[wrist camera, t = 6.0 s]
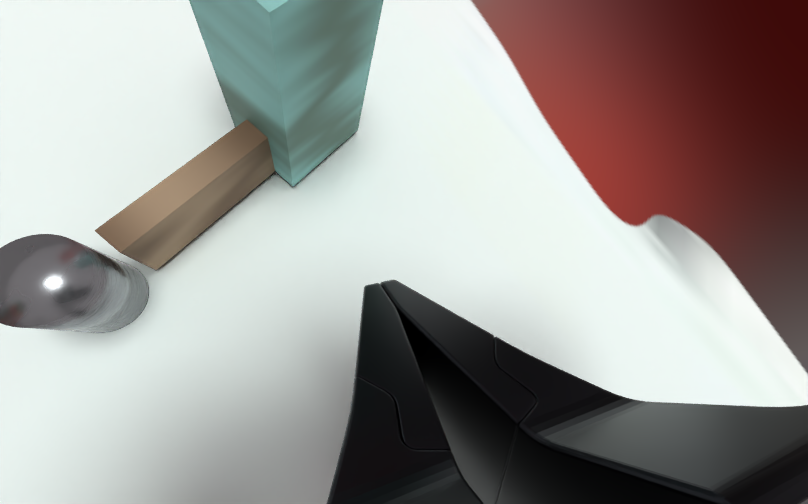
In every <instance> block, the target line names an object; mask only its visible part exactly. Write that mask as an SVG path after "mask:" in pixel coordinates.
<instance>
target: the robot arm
mask: <svg viewBox="0 0 808 504" xmlns="http://www.w3.org/2000/svg"><path fill="white" fill-rule="evenodd" d="M327 504H808V405H804V406H794V407H756V406H732V405H709V404H685V403H662V402H645V401H639V400H633V399H629V398H625V397H622V396H619V395H616V394H614V393H611V392H609V391H606V390H604V389H602V388H600V387H598V386H595V385H593V384H591V383H589V382H587V381H584V380H582V379H580V378H578V377H576V376H574V375H571V374H569V373H567V372H565V371H563V370H560V369H558V368H556V367H554V366H552V365H550V364H548V363H545V362H543V361H541V360H539V359H537V358H535V357H533V356H531V355H529V354H527V353H525V352H523V351H521V350H519V349H518V348H516V347H514V346H512V345H510V344H508V343H507V342H505V341H503V340H501V339H499V338H498V337H494V336H493V335H492V334H490V333H489V332H487V331H485V330H483V329H481V328H480V327H478V326H476V325H474V324H473V323H471V322H469V321H467V320H466V319H464V318H462V317H460V316H458V315H457V314H455V313H453V312H451V311H450V310H448V309H446V308H444V307H442V306H441V305H439V304H437V303H435V302H434V301H432V300H430V299H428V298H427V297H425V296H423V295H421V294H419V293H418V292H416V291H414V290H412V289H411V288H409V287H407V286H405V285H403V284H402V283H400V282H398V281H396V280H390V281H385V282H381V283H380V284H379V283H375V284H371V285H366V286H365V287H364V294H363V303H362V313H361V323H360V332H359V342H358V351H357V361H356V370H355V379H354V388H353V396H352V403H351V409H350V415H349V419H348V424H347V428H346V433H345V437H344V441H343V445H342V448H341V452H340V456H339V460H338V463H337V467H336V471H335V475H334V479H333V482H332V486H331V490H330V494H329V497H328V501H327Z"/></svg>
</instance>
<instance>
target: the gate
mask: <svg viewBox="0 0 808 504" xmlns="http://www.w3.org/2000/svg"><path fill="white" fill-rule="evenodd" d="M189 1H190V4H191V7H192V10H193V12H194V15H195V18H196V21H197V23H198V26H199V29H200V32H201V34H202V37H203V40H204V43H205V45H206V48H207V51H208V54H209V56H210V59H211V62H212V65H213V68H214V70H215V73H216V76H217V79H218V81H219V84H220V87H221V90H222V92H223V95H224V98H225V101H226V103H227V106H228V109H229V112H230V114H231V117H232V120H233V123H234V125H235V128H234V129H233V130H231V131H230V132H229V133H227V134H226V135H224V136H223V137H222V138H220V139H219V140H218V141H216V142H215V143H214V144H212V145H211V146H209V147H208V148H207V149H205V150H204V151H203V152H201V153H200V154H199V155H197V156H196V157H194V158H193V159H192V160H190V161H189V162H188V163H186V164H185V165H184V166H182V167H181V168H179V169H178V170H177V171H175V172H174V173H173V174H171V175H170V176H168V177H167V178H166V179H164V180H163V181H162V182H160V183H159V184H158V185H156V186H155V187H153V188H152V189H151V190H149V191H148V192H147V193H145V194H144V195H143V196H141V197H140V198H138V199H137V200H136V201H134V202H133V203H132V204H130V205H129V206H128V207H126V208H125V209H123V210H122V211H121V212H119V213H118V214H117V215H115V216H114V217H112V218H111V219H110V220H108V221H107V222H106V223H104V224H103V225H102V226H100V227H99V228H97V229H96V230H95V231H96V232H97V233H98V234H99V235H100V236H101V237H102V238H104V239H105V240H106V241H107V242H108V243H109V244H111V245H112V246H113V247H114V248H115V249H116V250H118V251H119V252H120V253H122V254H124V255H126V256H128V257H130V258H132V259H134V260H136V261H138V262H140V263H142V264H144V265H146V266H148V267H151V268H153V269H155V270H157V269H159V268H160V267H161V266H162V265H163V264H165V263H166V262H167V261H168V260H169V259H171V258H172V257H173V256H174V255H175V254H177V253H178V252H179V251H180V250H181V249H183V248H184V247H185V246H186V245H187V244H189V243H190V242H191V241H192V240H193V239H195V238H196V237H197V236H198V235H199V234H201V233H202V232H203V231H204V230H205V229H207V228H208V227H209V226H210V225H211V224H213V223H214V222H215V221H216V220H217V219H219V218H220V217H221V216H222V215H223V214H225V213H226V212H227V211H228V210H229V209H231V208H232V207H233V206H234V205H235V204H237V203H238V202H239V201H240V200H241V199H243V198H244V197H245V196H246V195H247V194H249V193H250V192H251V191H252V190H253V189H255V188H256V187H257V186H258V185H259V184H261V183H262V182H263V181H264V180H265V179H267V178H268V177H269V176H270V175H271V174H273V173H274V172H275V171H276V172H277V173H278V174H279V175H280V176H281V177H282V178H284V179H285V180H286V181H287V182H288V183H289V184H290V185H292V186H294V185H296V184H297V183H298V182H299V181H300V180H301V179H302V178H304V177H305V176H306V175H307V174H308V173H309V172H310V171H312V170H313V169H314V168H315V167H316V166H317V165H318V164H320V163H321V162H322V161H323V160H324V159H325V158H326V157H328V156H329V155H330V154H331V153H332V152H333V151H334V150H336V149H337V148H338V147H339V146H340V145H341V144H342V143H344V142H345V141H346V140H347V139H348V138H349V137H350V136H352V135H353V134H354V133H355V132H356V131H357V130H358V126H359V121H360V115H361V110H362V105H363V100H364V95H365V90H366V85H367V80H368V75H369V70H370V65H371V60H372V55H373V50H374V45H375V40H376V35H377V30H378V24H379V19H380V14H381V9H382V4H383V0H189Z"/></svg>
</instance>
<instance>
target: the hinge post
mask: <svg viewBox="0 0 808 504" xmlns="http://www.w3.org/2000/svg"><path fill="white" fill-rule="evenodd" d="M148 295H149V289H148V284H147V281H146V279H145V277H144V276H143V274H142V273H141V272H140V271H138V270H137V269H136V268H134V267H132V266H130V265H128V264H126V263H123V262H121V261H119V260H117V259H114V258H112V257H110V256H108V255H105V254H103V253H101V252H98V251H96V250H94V249H92V248H89V247H87V246H85V245H83V244H80V243H78V242H76V241H73V240H71V239H69V238H66V237H63V236H59V235H52V234H38V235H31V236H27V237H23V238H20V239H17V240H15V241H13V242H10V243H8V244H7V245H5V246H3V247H2V248H0V323H2V324H4V325H8V326H12V327H22V328H37V329H52V330H68V331H83V332H110V331H114V330H117V329H120V328H122V327H124V326H126V325H128V324H130V323H131V322H132V321H134V320H135V319H136V318H137V317H138V316H139V315H140V313H141V312H142V311H143V309H144V307H145V305H146V303H147V300H148Z"/></svg>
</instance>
